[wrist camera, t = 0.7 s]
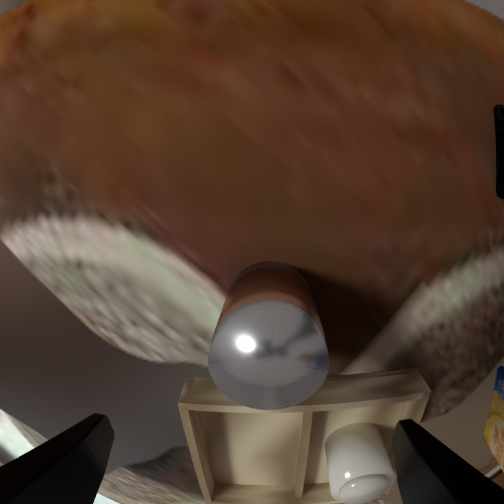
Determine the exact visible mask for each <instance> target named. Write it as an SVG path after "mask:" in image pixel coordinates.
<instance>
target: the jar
mask: <svg viewBox="0 0 504 504" xmlns="http://www.w3.org/2000/svg"><path fill="white" fill-rule="evenodd" d="M324 447H325V454H326V461H327V468H328V475H329V483H330V490H331V496H332V497H333V498H334V499H336V500H338V501H342V502H343V503H346V504H362V503H366V502H369V501H372V500H374V499H376V498H378V497H380V496H381V495H383V494H384V493H385V492H386V491H387V489H388V488H389V487H390V486H391V485H392V483H393V482H394V479H395V476H394V473H393V469H392V466H391V463H390V460H389V457H388V454H387V451H386V448H385V445H384V442H383V439H382V436H381V433H380V430H379V429H378V427H377V426H375V425H373V424H371V423H365V422H359V423H352V424H349V425H345V426H343V427H341V428H339V429H337V430H335V431H334V432H333V433H332V434H330V435H329V437H328V438H327V439H326V441H325V445H324Z"/></svg>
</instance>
